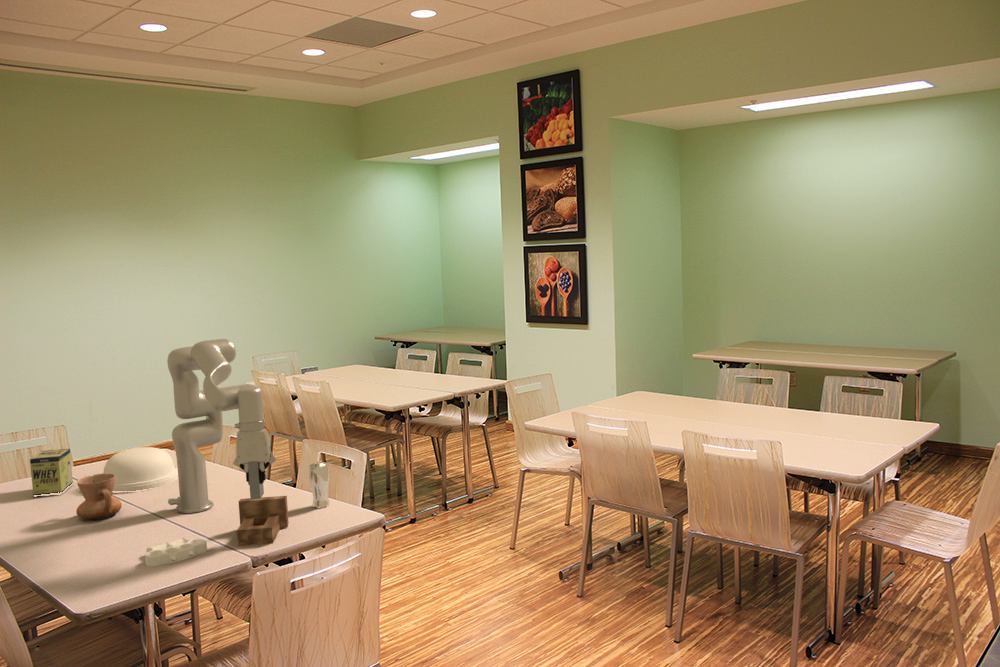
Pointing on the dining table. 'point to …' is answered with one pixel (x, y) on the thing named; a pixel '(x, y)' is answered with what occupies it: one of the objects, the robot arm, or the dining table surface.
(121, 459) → the dome cover
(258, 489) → the grey rectangular block
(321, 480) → the beer glass
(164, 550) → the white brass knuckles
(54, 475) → the protein box
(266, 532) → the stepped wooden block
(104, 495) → the ceramic jug
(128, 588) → the dining table surface
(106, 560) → the dining table surface
